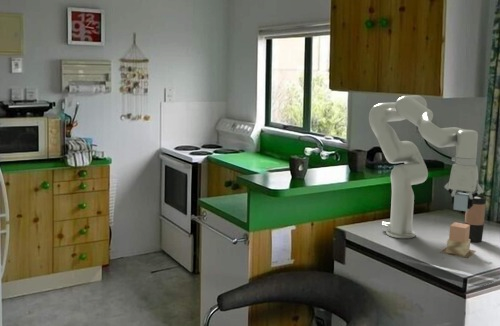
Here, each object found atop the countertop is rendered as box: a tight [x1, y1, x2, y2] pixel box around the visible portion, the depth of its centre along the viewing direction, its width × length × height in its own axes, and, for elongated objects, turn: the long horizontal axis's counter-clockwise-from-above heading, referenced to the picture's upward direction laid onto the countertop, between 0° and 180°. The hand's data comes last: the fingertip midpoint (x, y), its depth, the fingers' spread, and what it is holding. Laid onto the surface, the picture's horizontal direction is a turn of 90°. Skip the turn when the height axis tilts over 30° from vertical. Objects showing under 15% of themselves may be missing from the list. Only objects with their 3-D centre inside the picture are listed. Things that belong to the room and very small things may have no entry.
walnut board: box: [439, 246, 476, 259], centre depth 230 cm, size 11×11×1 cm
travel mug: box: [464, 194, 487, 244], centre depth 243 cm, size 8×8×20 cm
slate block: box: [453, 191, 469, 212], centre depth 226 cm, size 5×5×6 cm
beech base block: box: [446, 238, 471, 256], centre depth 229 cm, size 7×7×5 cm
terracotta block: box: [448, 221, 470, 243], centre depth 228 cm, size 6×6×6 cm
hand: (462, 206), depth 226 cm, fingers closed on slate block, 5 cm apart
